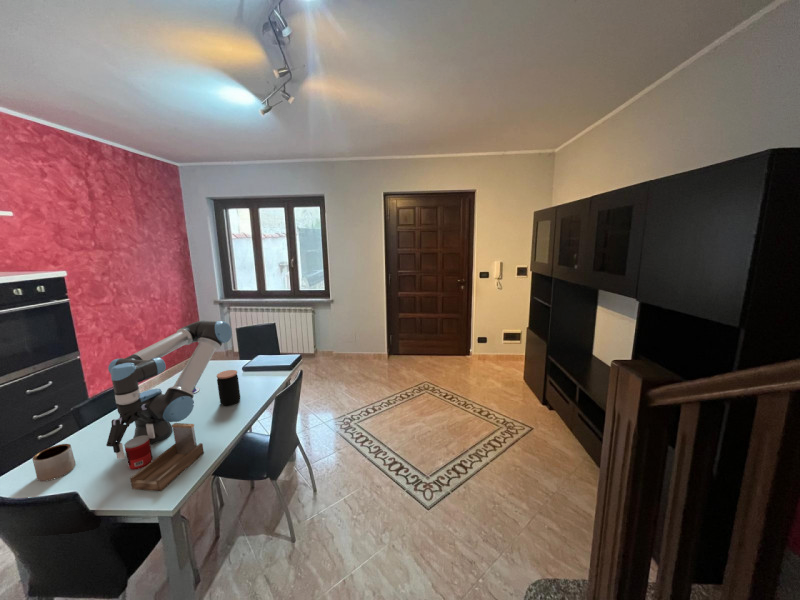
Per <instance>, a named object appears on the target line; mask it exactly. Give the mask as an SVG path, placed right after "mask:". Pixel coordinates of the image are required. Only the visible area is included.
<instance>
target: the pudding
mask: <svg viewBox="0 0 800 600" xmlns="http://www.w3.org/2000/svg"><path fill="white" fill-rule="evenodd" d="M200 390H201V388H200V387H199V386H195V388H194V390H193V392H192V393H193V394H195V393H198V392H199V391H200Z"/></svg>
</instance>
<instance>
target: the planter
mask: <svg viewBox="0 0 800 600" xmlns="http://www.w3.org/2000/svg"><path fill="white" fill-rule="evenodd" d="M32 462H33V463H32V464H33V467H34V471H35V475H36V478H37V480H38V481H39V480H40V482H46V480H48V481H52V480H51V479H53V480H55V479H54V478H56V479H58V478H60V476H61V477H63V476H65V475H66V473H67V474H68V473H70V472H71V471H72V470H73V469H74V468H75V467H76V465H77V464H76V460H75V457H74V452H73V449H72V445H71V444H70V443H62V444H61V443H60V444H57V445H56V444H55V445H53V446H50V447H47V448H45V449H43V450H41V451H39V452H37V453H36V454H35V455H34V456H32ZM64 474H65V475H64ZM62 475H63V476H62ZM57 477H58V478H57Z"/></svg>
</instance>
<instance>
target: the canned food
mask: <svg viewBox="0 0 800 600" xmlns="http://www.w3.org/2000/svg"><path fill="white" fill-rule="evenodd" d="M124 451H125V455H126V456H125V457H126V459H127V460H126V461H127V464H128V465H127V466H128V468H129V469H130V470H132V471H135V470H136V471H137V470H141V469H143V468H144V467H145V466H147V465H148V464H149V463H150V462H152V461H153V460H154V459H153V451H152V447H151V445H150V441H149V437H148V436H146V435H143V436H138V437H135V438H131V439H129V440H127V441H126V442H125V444H124Z"/></svg>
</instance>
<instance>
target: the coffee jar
mask: <svg viewBox="0 0 800 600" xmlns="http://www.w3.org/2000/svg"><path fill="white" fill-rule="evenodd" d="M216 378H217V379H216V382H217V390H218V398H219V403H220V405H222V407H224V406H225V407H229V406H234V405H236V404H237V403H239V402H240V400H241V390H240V384H239V376H238V370H235V369H228V370H223V371H220V372H218V373H217V374H216Z"/></svg>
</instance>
